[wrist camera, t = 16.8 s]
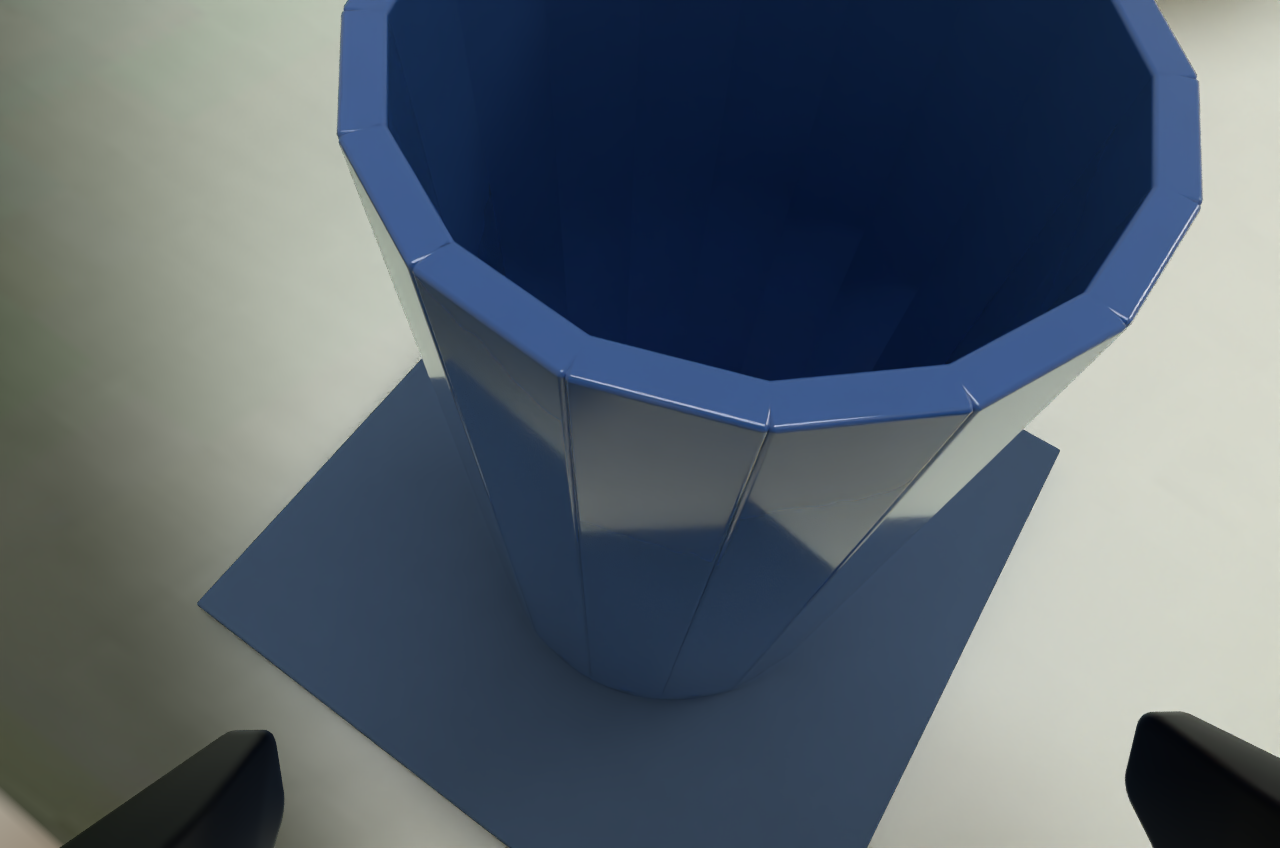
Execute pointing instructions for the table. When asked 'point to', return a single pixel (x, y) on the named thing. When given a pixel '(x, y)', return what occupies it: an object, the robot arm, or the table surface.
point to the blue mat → (576, 705)
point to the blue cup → (752, 279)
